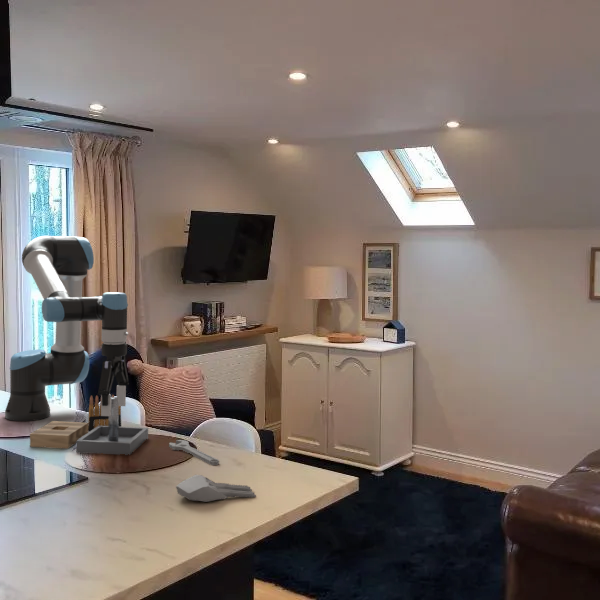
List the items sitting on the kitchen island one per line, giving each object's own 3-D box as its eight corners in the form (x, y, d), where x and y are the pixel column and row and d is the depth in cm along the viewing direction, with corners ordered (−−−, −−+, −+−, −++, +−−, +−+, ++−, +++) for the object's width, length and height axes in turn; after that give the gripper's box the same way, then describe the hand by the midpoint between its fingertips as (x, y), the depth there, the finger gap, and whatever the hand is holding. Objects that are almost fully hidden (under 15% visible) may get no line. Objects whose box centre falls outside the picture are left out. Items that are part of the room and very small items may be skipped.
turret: (256, 509, 176) (259, 490, 176) (177, 504, 170) (180, 484, 170) (246, 495, 185) (249, 478, 185) (171, 490, 179) (174, 472, 179)
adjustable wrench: (220, 466, 204) (221, 460, 204) (200, 469, 200) (200, 463, 200) (183, 444, 225) (184, 438, 224) (164, 447, 221) (165, 441, 221)
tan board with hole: (52, 433, 232) (52, 421, 232) (88, 434, 231) (88, 422, 231) (30, 446, 216) (30, 433, 216) (68, 448, 215) (68, 435, 215)
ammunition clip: (88, 431, 235) (88, 396, 234) (87, 430, 236) (88, 395, 235) (121, 429, 239) (121, 394, 238) (120, 428, 241) (120, 393, 240)
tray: (98, 436, 230) (98, 425, 230) (148, 438, 228) (148, 427, 228) (76, 452, 211) (76, 440, 211) (129, 455, 210) (129, 443, 210)
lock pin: (110, 441, 222) (110, 396, 220) (119, 441, 221) (119, 397, 220) (107, 443, 219) (106, 398, 217) (116, 444, 218) (116, 399, 217)
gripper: (112, 348, 205) (111, 421, 207) (138, 338, 230) (138, 402, 231) (87, 347, 206) (86, 419, 207) (116, 337, 230) (115, 401, 232)
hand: (113, 410), depth 219 cm, fingers open, 13 cm apart
